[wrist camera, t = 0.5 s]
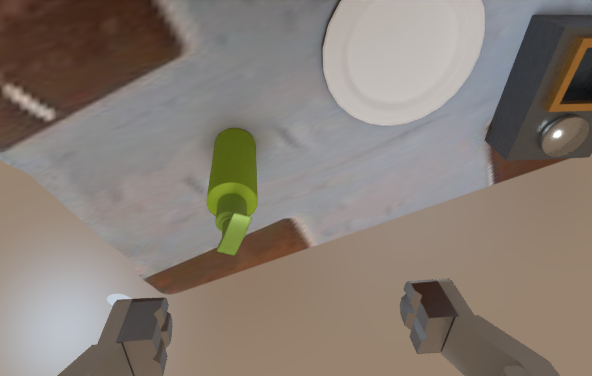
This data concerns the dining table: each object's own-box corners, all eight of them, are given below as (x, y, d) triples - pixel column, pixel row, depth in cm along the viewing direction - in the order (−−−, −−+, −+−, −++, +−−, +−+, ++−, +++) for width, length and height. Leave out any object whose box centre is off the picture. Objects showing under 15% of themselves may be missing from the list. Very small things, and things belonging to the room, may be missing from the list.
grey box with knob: (532, 15, 45) (572, 29, 40) (625, 15, 47) (676, 28, 41) (484, 140, 56) (510, 164, 51) (561, 137, 58) (594, 160, 52)
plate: (298, 100, 49) (299, 105, 48) (362, -79, 38) (366, -79, 37) (425, 135, 55) (430, 141, 54) (514, -10, 44) (522, -8, 42)
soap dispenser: (264, 129, 51) (271, 225, 35) (247, 167, 55) (247, 270, 39) (224, 115, 49) (212, 210, 33) (209, 155, 53) (193, 258, 37)
